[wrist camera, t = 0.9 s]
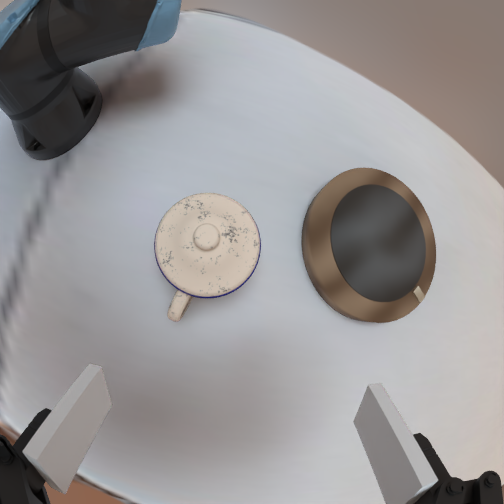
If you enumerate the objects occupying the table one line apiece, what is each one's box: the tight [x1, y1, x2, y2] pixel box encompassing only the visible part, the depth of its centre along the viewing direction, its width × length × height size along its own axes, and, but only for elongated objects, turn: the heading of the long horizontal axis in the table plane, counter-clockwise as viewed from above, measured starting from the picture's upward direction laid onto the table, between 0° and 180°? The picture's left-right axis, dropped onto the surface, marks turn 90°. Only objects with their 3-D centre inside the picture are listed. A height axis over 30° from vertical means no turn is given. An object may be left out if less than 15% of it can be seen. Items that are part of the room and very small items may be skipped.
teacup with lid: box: [154, 193, 261, 322], centre depth 25 cm, size 12×9×12 cm
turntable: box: [302, 168, 436, 323], centre depth 33 cm, size 20×20×3 cm
